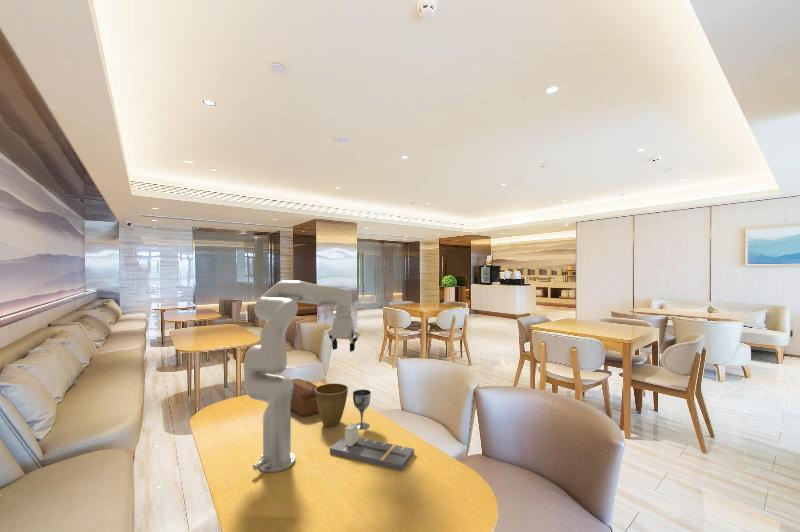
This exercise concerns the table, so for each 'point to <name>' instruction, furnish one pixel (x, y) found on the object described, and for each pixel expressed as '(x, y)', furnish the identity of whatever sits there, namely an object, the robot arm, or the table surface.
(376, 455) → the console
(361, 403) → the wine glass
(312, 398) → the bread
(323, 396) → the plant pot
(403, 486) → the table surface
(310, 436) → the table surface
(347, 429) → the fader tab
